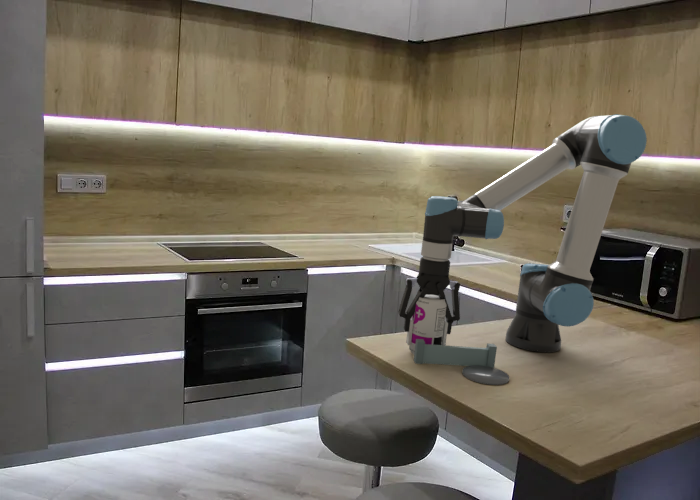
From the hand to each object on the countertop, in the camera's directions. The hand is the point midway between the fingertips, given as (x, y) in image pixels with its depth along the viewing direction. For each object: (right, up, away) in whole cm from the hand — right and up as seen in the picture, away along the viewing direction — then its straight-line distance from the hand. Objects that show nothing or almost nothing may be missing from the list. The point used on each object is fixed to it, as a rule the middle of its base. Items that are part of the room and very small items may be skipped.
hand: (425, 344), depth 165 cm
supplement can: (0, -2, 0) cm, 2 cm away
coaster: (+13, -6, -12) cm, 19 cm away
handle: (+6, -4, -6) cm, 10 cm away
